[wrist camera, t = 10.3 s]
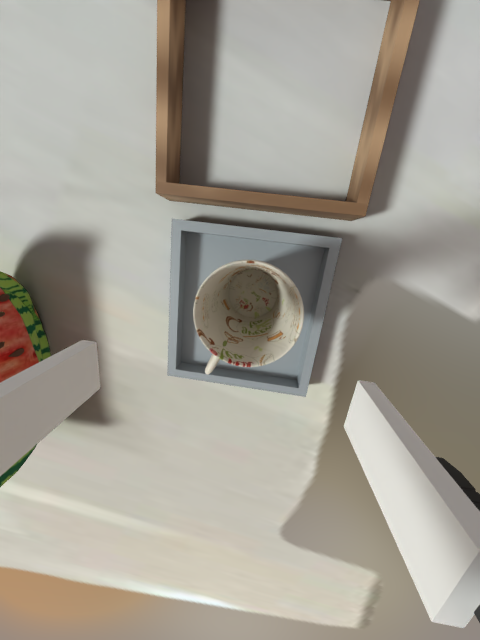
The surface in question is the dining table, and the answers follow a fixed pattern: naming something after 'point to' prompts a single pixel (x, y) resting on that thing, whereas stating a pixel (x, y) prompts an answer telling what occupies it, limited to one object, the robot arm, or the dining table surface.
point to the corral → (355, 207)
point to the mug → (248, 314)
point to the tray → (247, 244)
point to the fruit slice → (18, 340)
